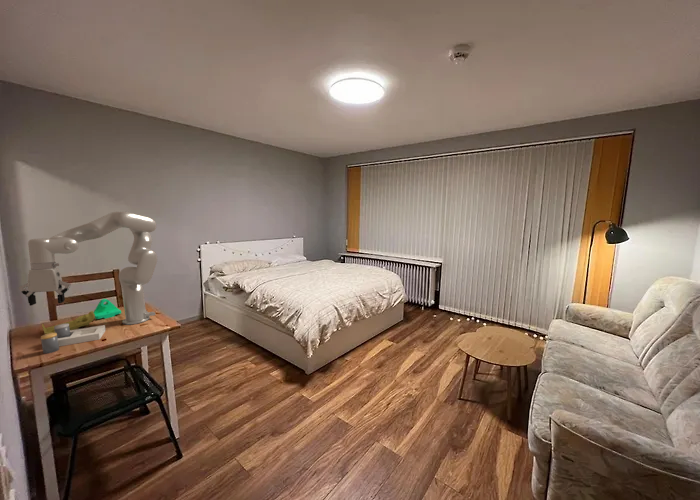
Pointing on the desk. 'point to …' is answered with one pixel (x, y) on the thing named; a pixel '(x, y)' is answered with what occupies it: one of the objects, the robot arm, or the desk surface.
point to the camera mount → (106, 310)
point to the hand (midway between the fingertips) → (47, 303)
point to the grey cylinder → (62, 330)
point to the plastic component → (73, 323)
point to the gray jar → (50, 343)
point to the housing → (82, 335)
